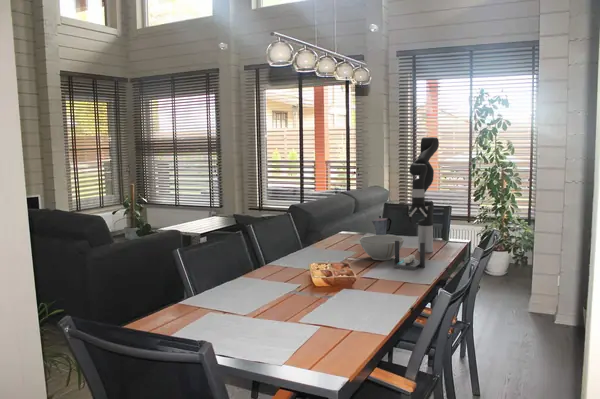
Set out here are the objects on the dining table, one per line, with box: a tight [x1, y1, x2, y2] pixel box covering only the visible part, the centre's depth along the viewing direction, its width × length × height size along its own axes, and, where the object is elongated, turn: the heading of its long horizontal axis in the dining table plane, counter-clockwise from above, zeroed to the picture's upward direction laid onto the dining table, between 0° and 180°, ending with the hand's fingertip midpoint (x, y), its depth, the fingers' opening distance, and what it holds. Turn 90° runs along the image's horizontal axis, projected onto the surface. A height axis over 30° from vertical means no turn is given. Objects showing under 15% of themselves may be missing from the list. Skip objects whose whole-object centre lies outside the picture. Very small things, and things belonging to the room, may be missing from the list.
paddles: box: [403, 254, 416, 263], centre depth 294 cm, size 10×3×2 cm, turn 149°
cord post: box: [419, 243, 426, 269], centre depth 290 cm, size 3×3×14 cm
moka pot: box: [371, 215, 393, 235], centre depth 359 cm, size 10×15×20 cm, turn 115°
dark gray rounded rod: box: [394, 241, 400, 265], centre depth 298 cm, size 3×3×14 cm
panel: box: [394, 258, 420, 271], centre depth 294 cm, size 16×12×3 cm
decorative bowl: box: [359, 234, 405, 261], centre depth 315 cm, size 27×27×12 cm
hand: (418, 222), depth 315 cm, fingers open, 8 cm apart
